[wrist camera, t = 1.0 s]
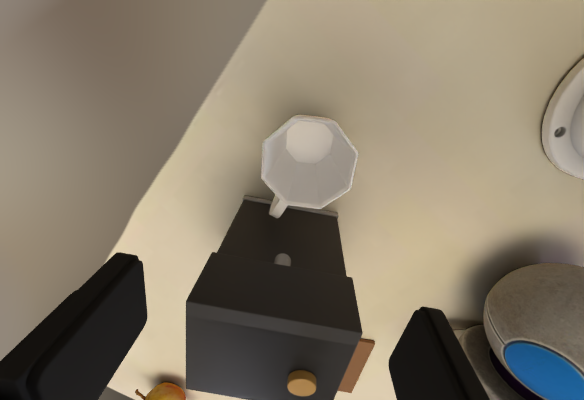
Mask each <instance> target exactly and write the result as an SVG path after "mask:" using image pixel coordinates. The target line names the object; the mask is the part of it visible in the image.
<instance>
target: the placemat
mask: <svg viewBox="0 0 584 400" xmlns="http://www.w3.org/2000/svg"><path fill="white" fill-rule="evenodd" d="M374 345H375V342H374V341H372V340H366V339H361V338H360V340H359V342H358V345H357V347H356V349H355V352H354V354H353V356H352V359H351V361H350V363H349V365H348V368H347V370H346V372H345V375H344V377H343V379H342V381H341V384H340V386H339V388H338V391H343V392H348V393H352V391H353V388H354V386H355V384H356V382H357V380H358V378H359V376H360V374H361V372H362V370H363V368H364V366H365V363H366V361H367V359H368V357H369V355H370V353H371V351H372V349H373V347H374Z"/></svg>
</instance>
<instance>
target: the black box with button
mask: <svg viewBox="0 0 584 400" xmlns="http://www.w3.org/2000/svg"><path fill="white" fill-rule="evenodd" d="M271 204H272V201H271V200H266V199H261V198H255V197H250V196H244V198H243V202H242V204H241V206H240V208H239V210H238V212H237V214H236V216H235V218H234V220H233V222H232V224H231V226H230V228H229V230H228V232H227V234H226V236H225V238H224V240H223V242H222V244H221V246H220V248H219V250H218V252H217V253H215V252H212V254H211V255H210V257H209V259H208V261H207V263H206V265H205V267H204V269H203V270H202V272H201V274H200V276H199V278H198V280H197V282H196V284H195V285H194V287H193V289H192V291H191V293H190V295H189V297H188V299H187V300H186V389H190V390H196V391H202V392H207V393H213V394H219V395H225V396H230V397H236V398H242V399H248V400H334V397H335V395H336V393H337V391H338V388H339V386H340V384H341V381H342V379H343V377H344V375H345V372H346V370H347V368H348V365H349V363H350V361H351V359H352V356H353V354H354V352H355V349H356V347H357V345H358V342H359V340H360V338H361V336H362V328H361V322H360V317H359V312H358V306H357V301H356V296H355V290H354V285H353V280H352V278H351V277H347V276H346V270H345V264H344V258H343V252H342V245H341V239H340V233H339V227H338V221H337V219H338V213H335V212H330V211H324V210H319V209H314V208H306V207H298V206H290V205H288V206H287V207H286V209H285V211H284V212H283V214H282V215H281V216H280V217H279V218H275V217H273V216H271V215H269V211H270V207H271Z"/></svg>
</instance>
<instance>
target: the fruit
mask: <svg viewBox="0 0 584 400" xmlns="http://www.w3.org/2000/svg"><path fill="white" fill-rule="evenodd" d="M135 393H136V394H137V395H139V396H140V397H141V398H142V399H143V400H186V396H185V393H184V391H183V390H182V389H181V388H180V387H179V386H177V385H176V384H173V383H167V382H164V383H161V384H159V385H157V386H156V387H154V388H153V389H152V390H151V391H150V392H149V393H148V394H147V396H146V397H145V396H143V395H142V394H141V393H140V392H138V389H137V390H136V391H135Z"/></svg>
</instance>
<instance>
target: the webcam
mask: <svg viewBox="0 0 584 400" xmlns="http://www.w3.org/2000/svg"><path fill="white" fill-rule="evenodd" d="M483 319H484V325H476V326H473V327H470V328H468V329H467V330H466V331H464V332H463V334H462V335H461V336H460V338H459V339H458V341H459V343H460V345H461V346H462V348H463V350H464V352H465V354H466V356H467V358H468V360H469V361H470V363H471V365H472V367H473V369H474V371H475V373H476V374H477V376H478V378H479V380H480V382H481V384H482V386H483V387H484V389H485V391H486V393H487V395H488V397H489V399H490V400H584V267H580V266H576V265H569V264H562V263H542V264H534V265H529V266H525V267H522V268H519V269H516V270H514V271H512V272H510V273H508V274H507V275H506V276H504V277H503V278H502V279H500V280H499V281H498V282H497V283H496V284H495V285H494V287H493V288H492V289H491V290H490V292H489V293H488V295H487V298H486V301H485V306H484V313H483Z"/></svg>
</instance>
